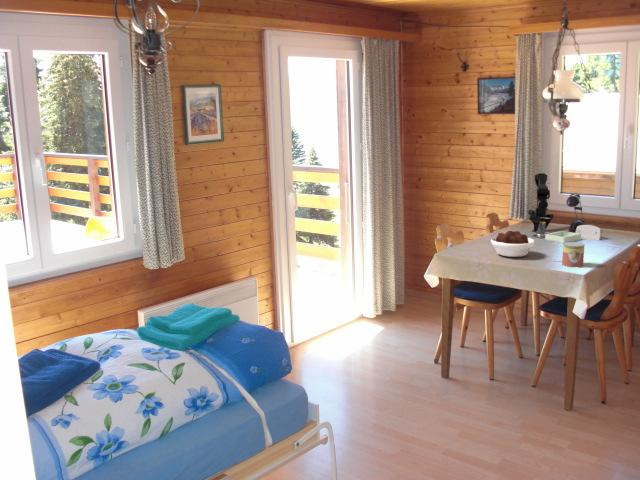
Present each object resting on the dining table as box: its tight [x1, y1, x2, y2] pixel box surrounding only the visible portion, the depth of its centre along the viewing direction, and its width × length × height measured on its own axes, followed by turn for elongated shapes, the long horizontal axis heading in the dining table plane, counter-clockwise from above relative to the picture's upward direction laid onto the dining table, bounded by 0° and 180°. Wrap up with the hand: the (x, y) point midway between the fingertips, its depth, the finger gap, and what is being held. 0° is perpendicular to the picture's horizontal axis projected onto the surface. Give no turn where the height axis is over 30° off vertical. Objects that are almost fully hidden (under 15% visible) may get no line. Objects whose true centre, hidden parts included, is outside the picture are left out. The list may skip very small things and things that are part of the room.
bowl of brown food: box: [490, 230, 536, 258], centre depth 426 cm, size 25×25×15 cm
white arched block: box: [574, 224, 602, 241], centre depth 473 cm, size 17×5×10 cm, turn 55°
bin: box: [544, 230, 582, 244], centre depth 469 cm, size 18×14×4 cm
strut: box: [535, 221, 546, 235], centre depth 479 cm, size 4×4×8 cm
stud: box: [530, 234, 546, 239], centre depth 480 cm, size 9×9×2 cm
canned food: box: [561, 241, 585, 268], centre depth 402 cm, size 11×11×12 cm
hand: (540, 229), depth 479 cm, fingers open, 9 cm apart
